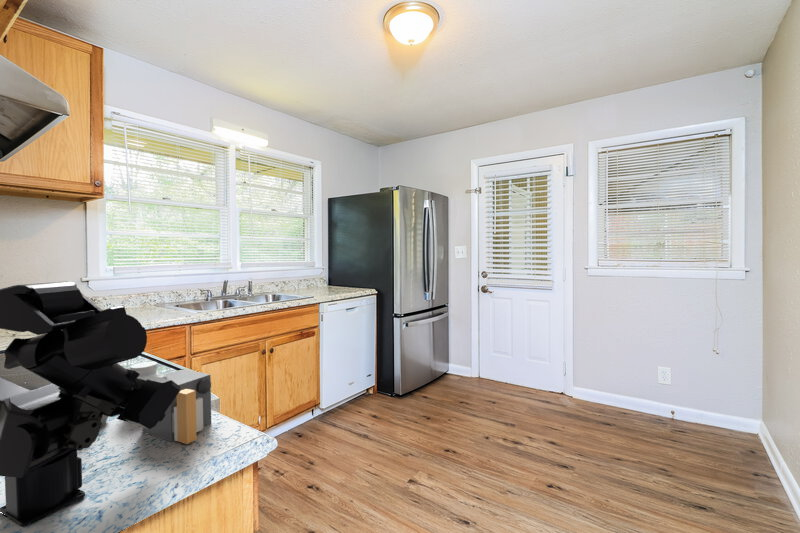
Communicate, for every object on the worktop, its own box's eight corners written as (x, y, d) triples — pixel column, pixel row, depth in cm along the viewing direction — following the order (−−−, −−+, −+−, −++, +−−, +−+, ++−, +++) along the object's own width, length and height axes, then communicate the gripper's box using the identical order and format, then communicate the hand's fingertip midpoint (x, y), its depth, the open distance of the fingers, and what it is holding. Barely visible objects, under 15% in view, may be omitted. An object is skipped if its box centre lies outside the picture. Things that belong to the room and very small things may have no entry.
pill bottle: (168, 408, 81) (167, 361, 81) (143, 419, 76) (142, 369, 75) (147, 405, 83) (146, 359, 82) (121, 416, 77) (120, 367, 77)
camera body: (174, 442, 66) (172, 384, 66) (142, 432, 70) (141, 378, 70) (213, 423, 74) (212, 371, 73) (183, 415, 77) (182, 366, 77)
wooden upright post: (186, 444, 65) (185, 394, 65) (174, 440, 66) (173, 391, 66) (212, 431, 69) (211, 384, 69) (200, 428, 71) (199, 382, 71)
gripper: (-12, 413, 50) (88, 457, 60) (65, 444, 42) (165, 488, 52) (61, 341, 57) (139, 391, 67) (139, 355, 49) (214, 410, 59)
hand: (161, 418), depth 61 cm, fingers closed
